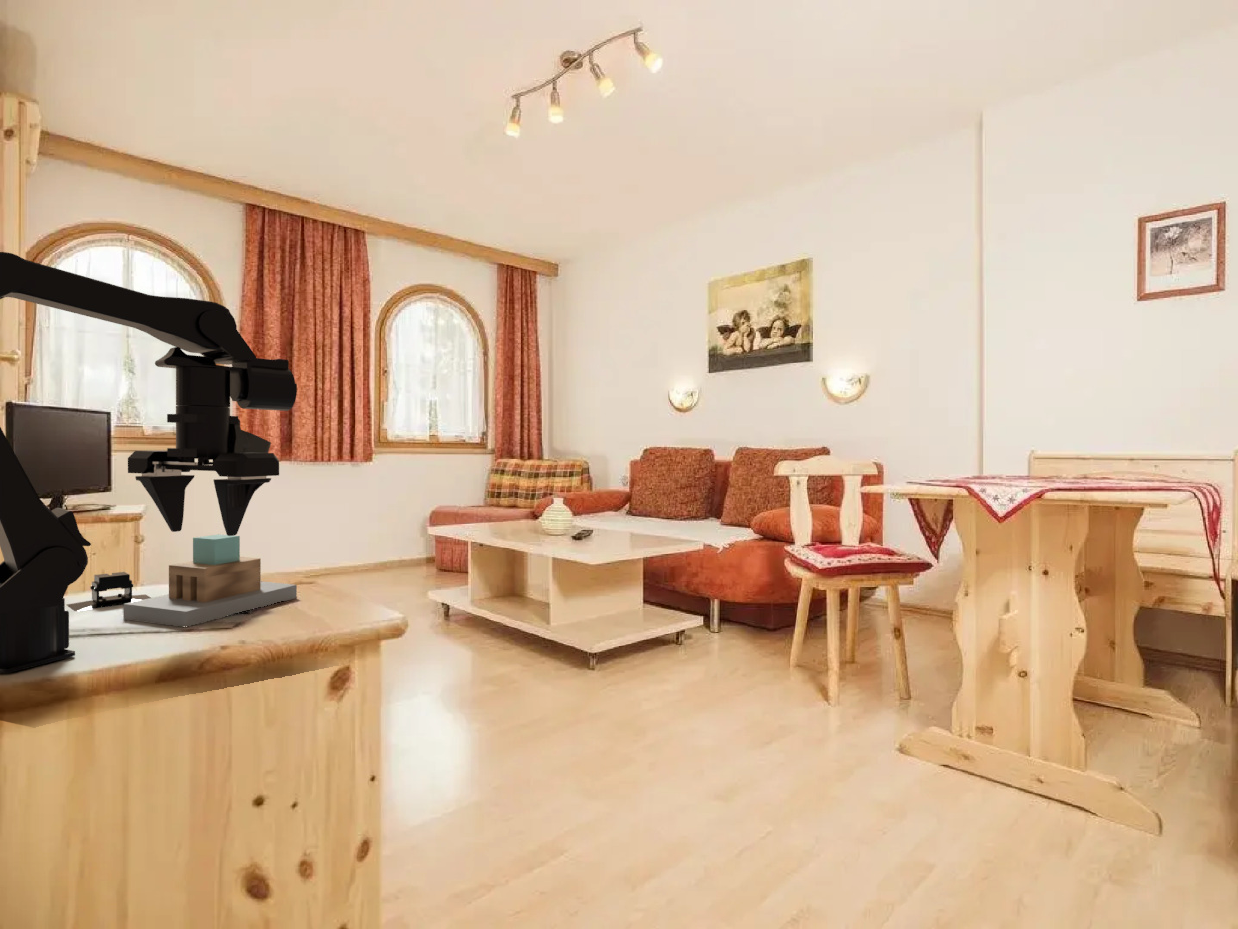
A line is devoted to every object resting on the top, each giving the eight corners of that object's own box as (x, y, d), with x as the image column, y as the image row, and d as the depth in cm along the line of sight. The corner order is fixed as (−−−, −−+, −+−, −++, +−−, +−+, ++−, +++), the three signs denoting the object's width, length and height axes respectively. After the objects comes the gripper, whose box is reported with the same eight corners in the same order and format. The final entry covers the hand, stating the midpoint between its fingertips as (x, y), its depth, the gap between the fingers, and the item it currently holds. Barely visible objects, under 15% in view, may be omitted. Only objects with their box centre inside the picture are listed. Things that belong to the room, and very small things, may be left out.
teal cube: (214, 565, 93) (214, 539, 93) (192, 563, 94) (193, 537, 94) (239, 560, 97) (239, 536, 97) (218, 558, 98) (218, 534, 98)
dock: (185, 627, 85) (185, 611, 85) (123, 619, 89) (123, 603, 89) (296, 598, 102) (296, 584, 102) (240, 591, 106) (240, 579, 106)
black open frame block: (155, 595, 105) (155, 566, 105) (170, 603, 100) (170, 572, 100) (51, 609, 96) (51, 576, 96) (62, 618, 91) (62, 584, 91)
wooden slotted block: (204, 602, 90) (204, 568, 90) (168, 598, 92) (168, 565, 92) (260, 589, 99) (260, 558, 99) (226, 585, 101) (226, 555, 101)
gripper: (313, 410, 88) (312, 530, 89) (205, 410, 94) (205, 523, 95) (240, 404, 78) (240, 541, 78) (124, 405, 84) (124, 532, 84)
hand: (203, 533), depth 84 cm, fingers open, 9 cm apart
